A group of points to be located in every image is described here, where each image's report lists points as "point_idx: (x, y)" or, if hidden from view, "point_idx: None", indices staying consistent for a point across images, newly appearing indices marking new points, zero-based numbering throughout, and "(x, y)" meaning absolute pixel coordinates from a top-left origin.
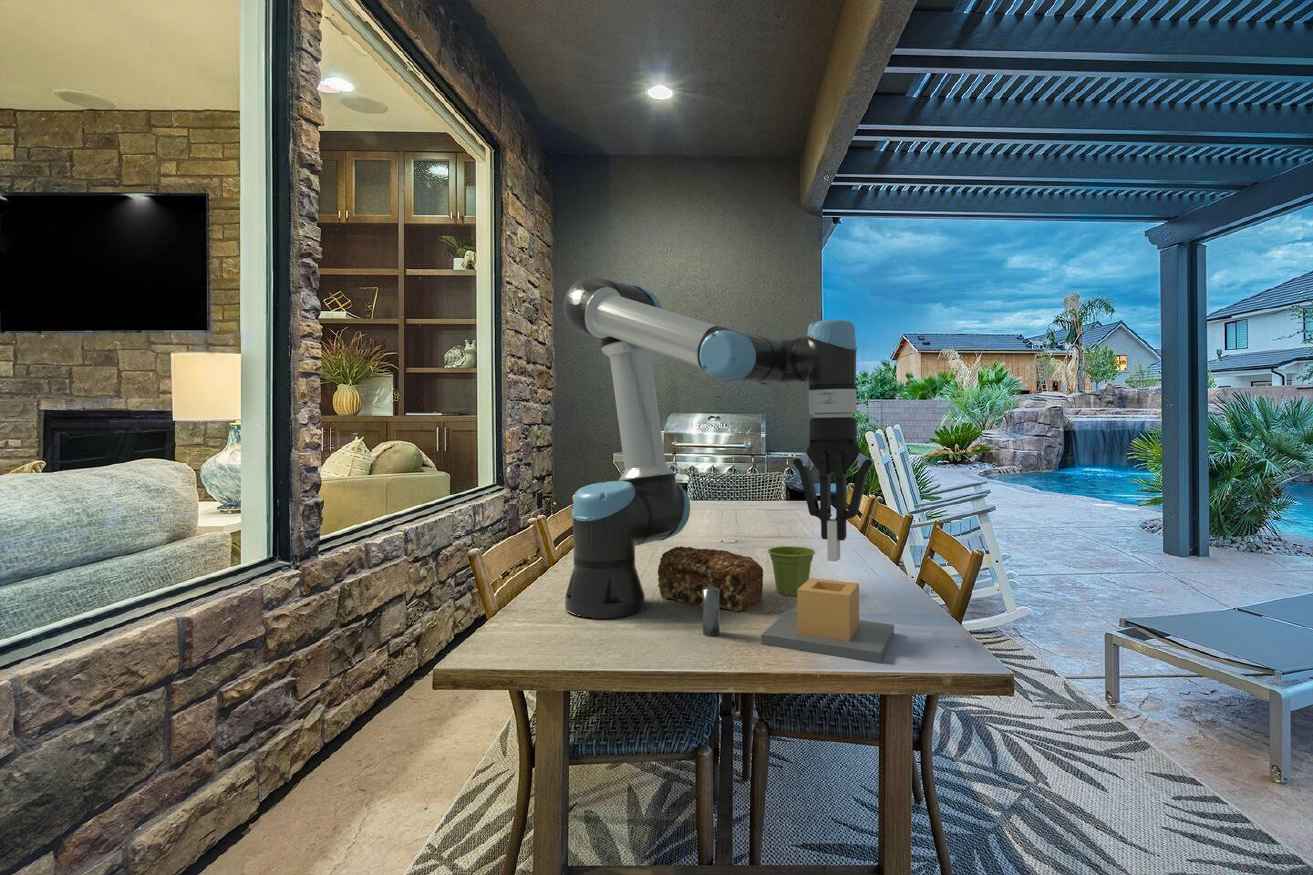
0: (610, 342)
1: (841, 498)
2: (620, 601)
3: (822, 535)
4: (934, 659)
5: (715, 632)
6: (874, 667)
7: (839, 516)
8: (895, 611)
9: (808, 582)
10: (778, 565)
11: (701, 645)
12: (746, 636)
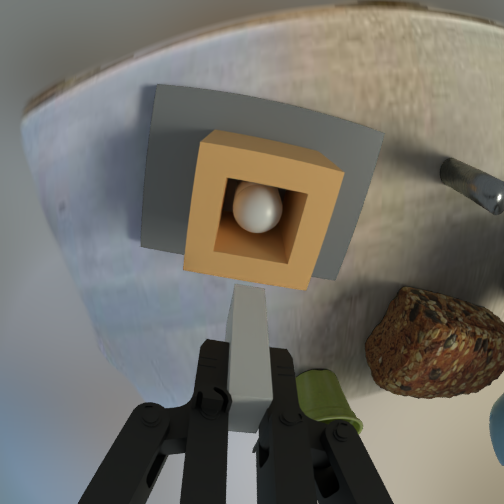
0: None
1: (193, 498)
2: None
3: (287, 359)
4: (84, 136)
5: (448, 161)
6: (173, 62)
7: (211, 414)
8: (157, 338)
9: (312, 249)
10: (344, 405)
11: (460, 116)
12: (401, 166)
